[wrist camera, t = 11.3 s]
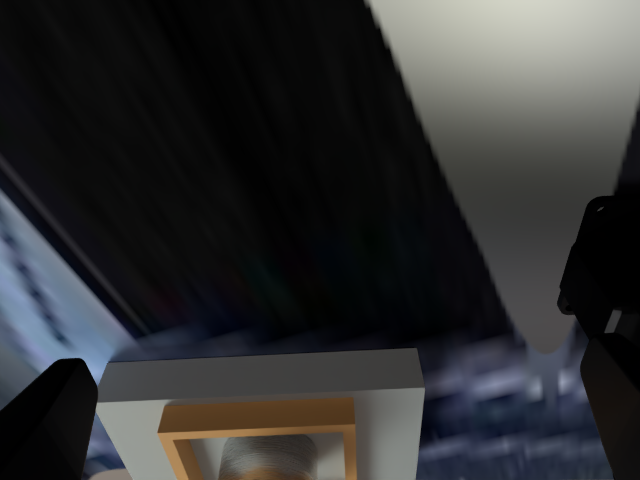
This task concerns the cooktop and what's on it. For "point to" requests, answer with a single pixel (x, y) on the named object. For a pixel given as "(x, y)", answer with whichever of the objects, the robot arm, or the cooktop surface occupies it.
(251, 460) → the steel can
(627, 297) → the robot arm
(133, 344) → the cooktop surface
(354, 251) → the cooktop surface
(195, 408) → the grey slab with frame
